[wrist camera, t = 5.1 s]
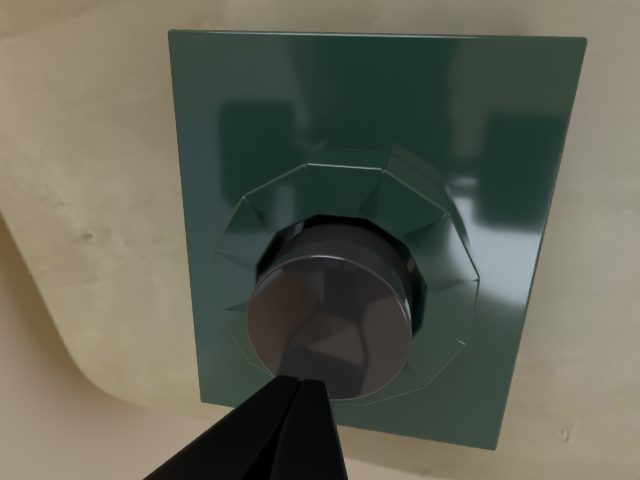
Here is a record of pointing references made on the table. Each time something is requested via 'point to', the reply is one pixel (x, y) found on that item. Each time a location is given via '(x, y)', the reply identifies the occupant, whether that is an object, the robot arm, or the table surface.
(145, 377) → the table surface
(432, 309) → the push button box
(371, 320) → the dark grey push button
